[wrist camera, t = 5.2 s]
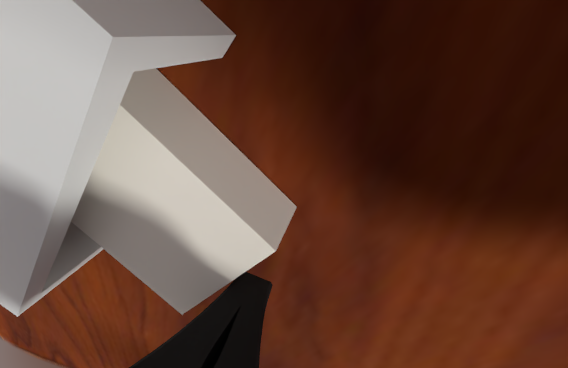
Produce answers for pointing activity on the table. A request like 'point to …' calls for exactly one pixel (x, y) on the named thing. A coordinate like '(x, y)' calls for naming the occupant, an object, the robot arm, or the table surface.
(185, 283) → the cream rectangular beam
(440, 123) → the table surface
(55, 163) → the slotted white box
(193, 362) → the robot arm
